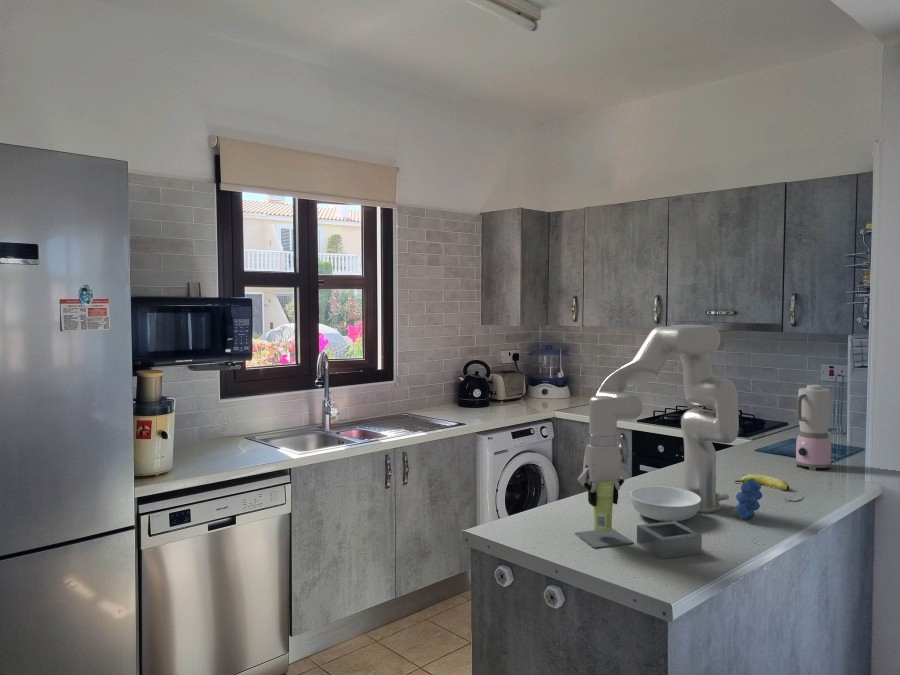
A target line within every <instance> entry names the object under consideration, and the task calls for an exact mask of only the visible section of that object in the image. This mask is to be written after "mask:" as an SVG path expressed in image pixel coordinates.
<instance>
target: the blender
mask: <svg viewBox="0 0 900 675" xmlns="http://www.w3.org/2000/svg"><path fill="white" fill-rule="evenodd" d="M831 404H832V403H831V390H830V389H829V388H823V386H822V385H817V384H815V385H814V384H808V385H806V387H801V388H798V394H797V398H796V419H797V421H798V424H799V434H798V436H797V438H796V443H795V466H796V467H797V468H798V467H799V466H802V467H805V468H807V467H808V469H809V471H816V470H817V469H825V468H829V469H831V468H832V442H831V438H830V437H829V432H828V431H829V426H830V420H831V412H832V411H831V408H832V407H831V406H832V405H831Z"/></svg>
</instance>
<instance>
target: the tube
mask: <svg viewBox="0 0 900 675" xmlns="http://www.w3.org/2000/svg"><path fill="white" fill-rule="evenodd" d="M613 490H614V481H605V482H597V485H596V488H595V492H596V495H597V505H596V506H595V507H594V506H592V507H593V510H592V511H593V530H596V531H599V532H609V531H611V530H612V529H613V528H612V527H613V504H614V503H613Z"/></svg>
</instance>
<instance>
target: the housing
mask: <svg viewBox="0 0 900 675" xmlns="http://www.w3.org/2000/svg"><path fill="white" fill-rule="evenodd" d="M702 539H703V535H702V534H701V533H699V532H697V531H695V530H693V529H692V528H689V527H687V526H686V525H683V524H682V523H679V521H670V522H663V521H660V522H654V523H647V524H637V525H636V544H637V545H638V546H641V547H642V548H644V549H646V550H647V551H648V552H650V553H652V554H653V555H654V556H656V557H658V558H659V559H661V560H663V559H664V560H665V559H672V558H673V559H674V558H678V557H679V558H680V557H687V556H688V557H689V556H695V555H702V553H703V551H702V550H703V549H702V548H703V547H702V546H703V545H702V544H703V540H702Z"/></svg>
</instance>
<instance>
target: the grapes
mask: <svg viewBox="0 0 900 675" xmlns="http://www.w3.org/2000/svg"><path fill="white" fill-rule="evenodd" d="M761 488H762V485H760V483H759V482H757V481H755V480H754V479H753V478H752V479H749V480H748V481H747V482H746V483H741V486H740V490H741V491H739V492H737V494H736V496H735V497H736V500H737V502H738V503H737V505H736V506H735V507H736V508H735V509H736V511H737V513H738V514H739V518H741V519H742V520H746V519H747V518H748V519H751V518H753V517H754V516H755V515H756V513H755V512H756V511H757V510H759V509H760V507H761V504H760V500H761V499H762V498H763V493H762V491H761Z"/></svg>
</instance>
